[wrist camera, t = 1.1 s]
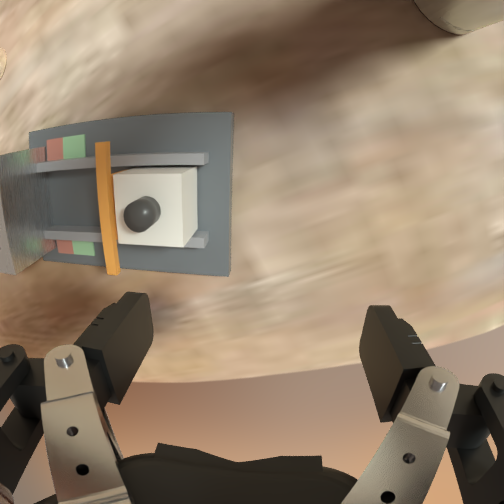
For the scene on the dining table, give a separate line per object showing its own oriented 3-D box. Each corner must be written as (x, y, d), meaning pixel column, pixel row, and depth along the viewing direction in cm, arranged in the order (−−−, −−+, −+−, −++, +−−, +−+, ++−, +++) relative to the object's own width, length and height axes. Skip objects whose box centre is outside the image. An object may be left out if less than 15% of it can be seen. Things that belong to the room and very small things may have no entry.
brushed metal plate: (29, 149, 28) (-19, 159, 20) (46, 146, 28) (-3, 156, 20) (40, 245, 32) (-1, 272, 25) (57, 246, 32) (16, 275, 25)
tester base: (36, 131, 29) (17, 133, 25) (234, 113, 27) (228, 110, 24) (50, 255, 35) (34, 266, 31) (230, 270, 33) (225, 285, 30)
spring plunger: (137, 166, 28) (100, 178, 21) (197, 166, 28) (173, 177, 21) (140, 226, 30) (108, 252, 24) (197, 228, 30) (176, 256, 23)
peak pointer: (124, 139, 27) (95, 142, 22) (133, 138, 27) (105, 141, 22) (130, 252, 31) (107, 274, 26) (139, 252, 31) (116, 275, 26)
